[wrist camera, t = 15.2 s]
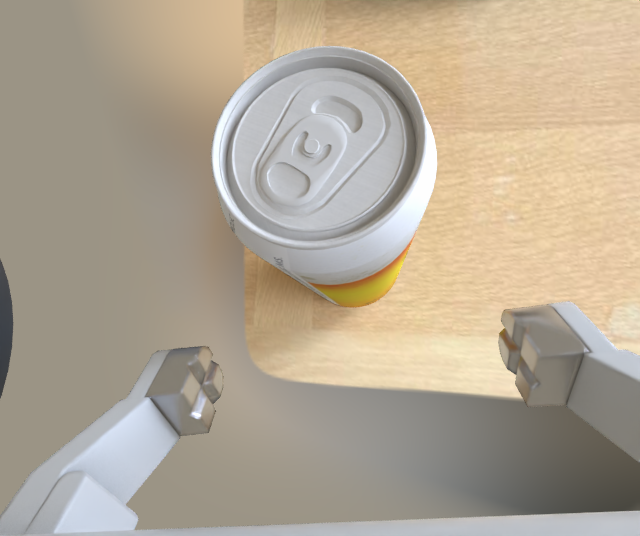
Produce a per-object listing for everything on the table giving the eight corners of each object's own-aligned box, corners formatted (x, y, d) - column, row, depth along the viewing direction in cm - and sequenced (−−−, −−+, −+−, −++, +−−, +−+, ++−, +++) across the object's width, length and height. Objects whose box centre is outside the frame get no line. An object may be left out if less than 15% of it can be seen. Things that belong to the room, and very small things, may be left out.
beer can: (416, 250, 22) (499, 93, 7) (365, 326, 22) (346, 319, 7) (341, 205, 23) (287, -2, 9) (292, 275, 23) (150, 181, 8)
